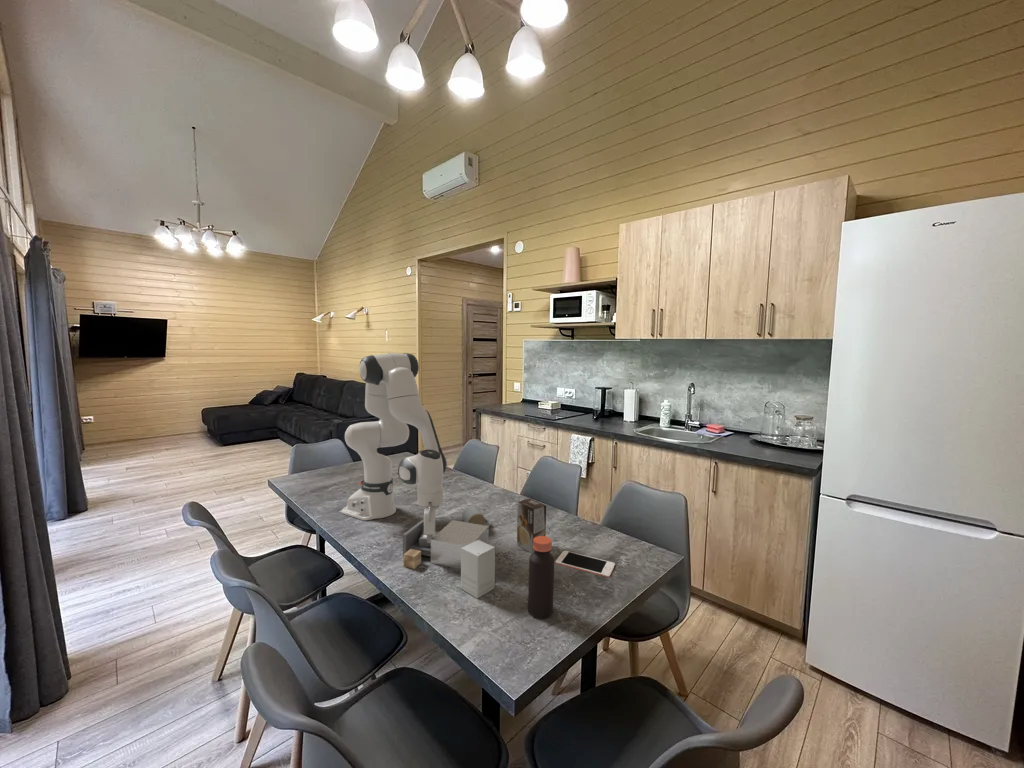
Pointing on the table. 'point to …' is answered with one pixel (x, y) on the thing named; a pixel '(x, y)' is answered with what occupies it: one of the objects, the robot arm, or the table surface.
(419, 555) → the block
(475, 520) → the ceramic mug
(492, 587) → the supplement box
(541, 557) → the bottle
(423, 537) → the push button
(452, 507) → the table surface
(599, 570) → the cell phone
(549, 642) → the table surface
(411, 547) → the tray
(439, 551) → the housing
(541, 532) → the coffee box
